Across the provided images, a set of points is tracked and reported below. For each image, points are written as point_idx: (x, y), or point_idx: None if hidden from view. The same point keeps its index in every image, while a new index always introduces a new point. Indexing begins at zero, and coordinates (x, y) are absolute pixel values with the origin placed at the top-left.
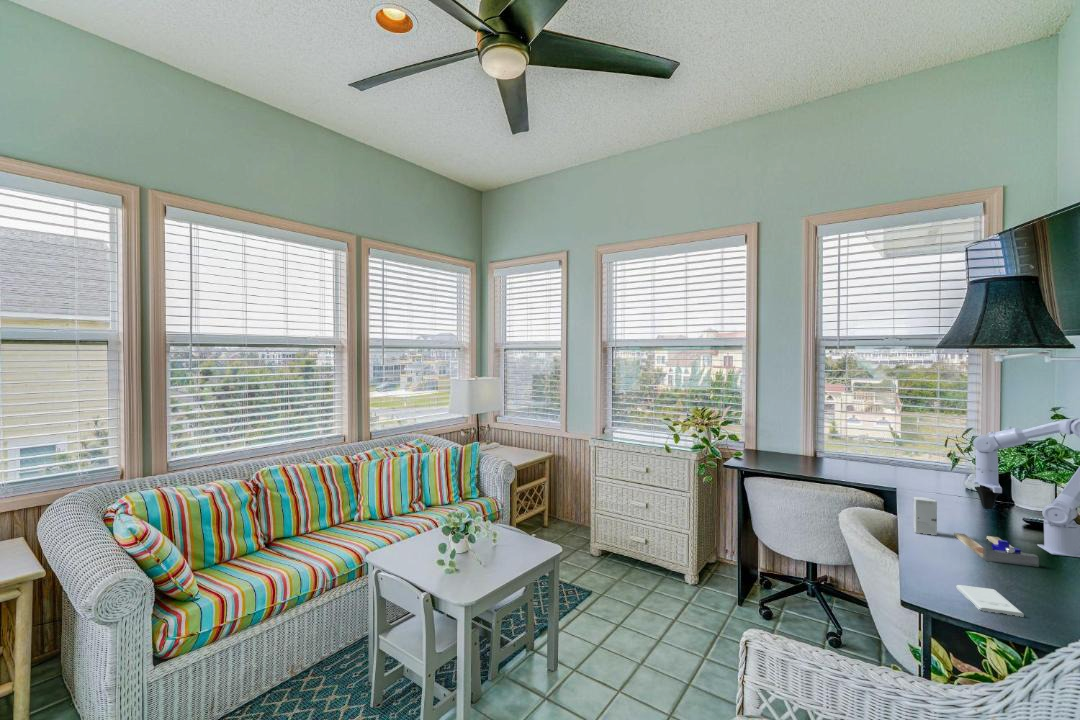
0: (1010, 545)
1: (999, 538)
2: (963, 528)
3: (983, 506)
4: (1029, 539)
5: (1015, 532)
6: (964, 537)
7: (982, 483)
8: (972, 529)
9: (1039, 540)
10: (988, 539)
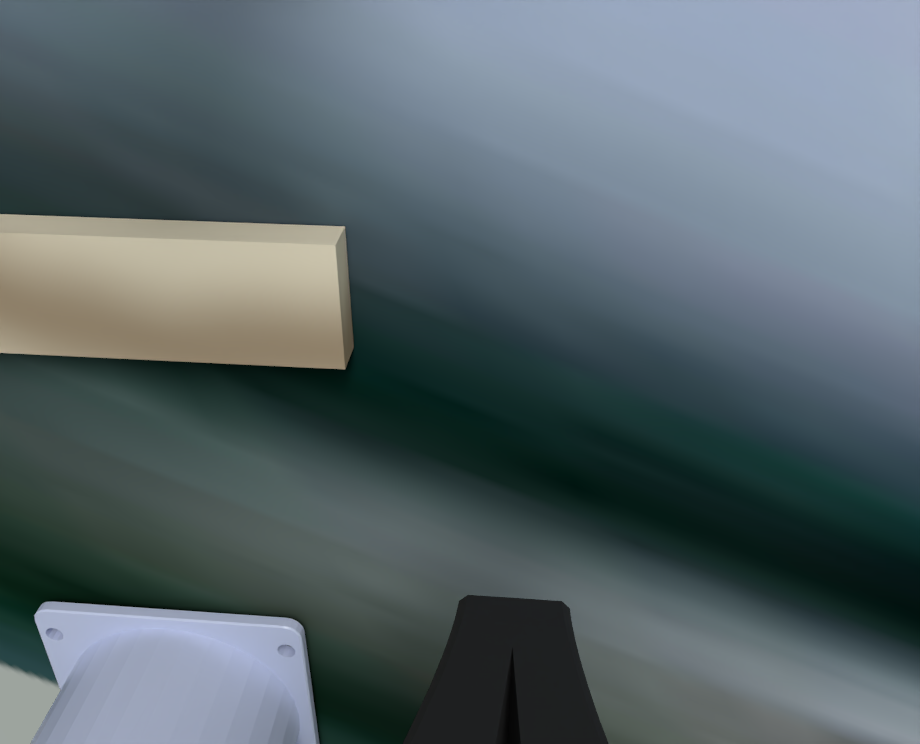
0: (7, 350)
1: (287, 361)
2: (862, 118)
3: (505, 627)
4: None
5: (776, 654)
6: None
7: None
8: (823, 240)
9: None
10: (289, 229)
